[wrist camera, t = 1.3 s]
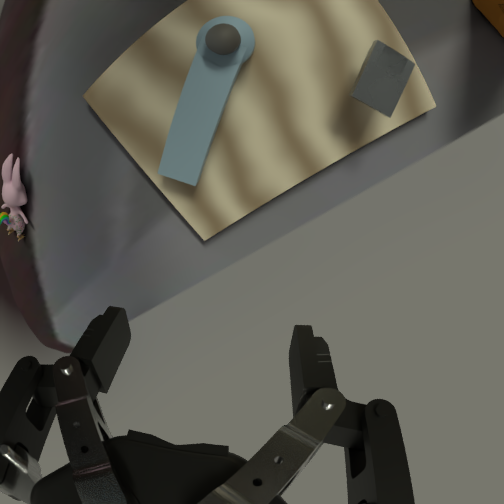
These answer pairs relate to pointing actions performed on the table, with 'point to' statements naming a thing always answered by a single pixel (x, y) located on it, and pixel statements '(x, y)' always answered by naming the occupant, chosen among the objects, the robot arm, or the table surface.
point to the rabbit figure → (13, 197)
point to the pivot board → (255, 98)
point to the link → (203, 103)
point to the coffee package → (492, 12)
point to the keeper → (382, 78)
